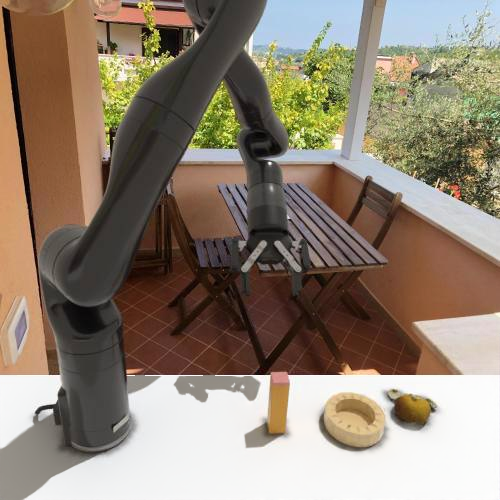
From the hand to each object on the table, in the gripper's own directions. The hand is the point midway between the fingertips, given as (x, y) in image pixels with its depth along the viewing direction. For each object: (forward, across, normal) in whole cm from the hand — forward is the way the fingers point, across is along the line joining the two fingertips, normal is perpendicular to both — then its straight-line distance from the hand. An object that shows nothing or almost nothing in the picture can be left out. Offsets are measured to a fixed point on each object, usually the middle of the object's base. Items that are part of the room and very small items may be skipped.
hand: (272, 295), depth 74 cm
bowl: (+21, +13, +4) cm, 25 cm away
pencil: (+21, 0, +4) cm, 22 cm away
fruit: (+19, +25, +6) cm, 32 cm away
